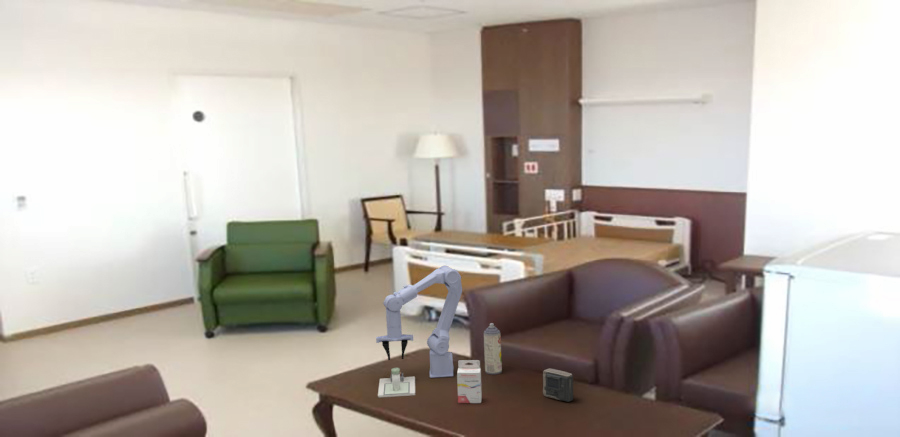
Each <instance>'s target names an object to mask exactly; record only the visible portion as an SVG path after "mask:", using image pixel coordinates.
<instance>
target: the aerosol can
mask: <svg viewBox="0 0 900 437" xmlns="http://www.w3.org/2000/svg"><path fill="white" fill-rule="evenodd" d="M501 338H502V337H501V330H500V329H498V328H497V327H496V325H494V323H493V322H491V323H489V326H488V327H486V329H484V331H483V348H484V349H483V350H484V351H483V352H484V372H485V374H487V375H499V374H502V372H503V366H502V365H503V363H502V339H501Z"/></svg>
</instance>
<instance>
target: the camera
mask: <svg viewBox="0 0 900 437" xmlns="http://www.w3.org/2000/svg"><path fill="white" fill-rule="evenodd" d="M542 380H543V381H542V383H543V384H542V385H543V386H542V387H543V388H542V394H543V396H544V397H546V398H551V399H554V400H559V401H562V402H567V403H569V402H572V401H574V376H573V374H572V373H570V372H567V371H563V370H559V369H555V368H547V369H544V370H543V371H542Z"/></svg>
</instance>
